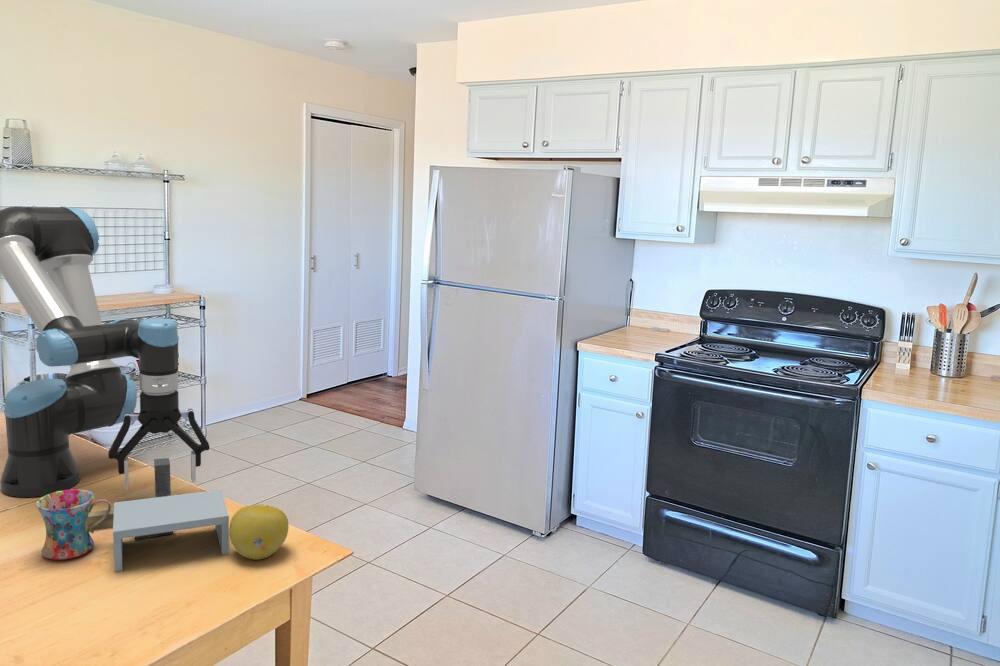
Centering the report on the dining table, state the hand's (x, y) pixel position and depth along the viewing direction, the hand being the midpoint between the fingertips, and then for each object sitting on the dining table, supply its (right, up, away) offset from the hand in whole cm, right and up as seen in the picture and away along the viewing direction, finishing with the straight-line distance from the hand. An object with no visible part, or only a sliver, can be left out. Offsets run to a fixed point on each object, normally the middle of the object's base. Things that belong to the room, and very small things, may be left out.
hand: (160, 483), depth 160 cm
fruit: (+28, -10, -20) cm, 36 cm away
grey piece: (+2, -5, -7) cm, 9 cm away
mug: (-5, -8, -23) cm, 25 cm away
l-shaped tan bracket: (-7, -6, -14) cm, 16 cm away
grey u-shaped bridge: (+11, -8, -20) cm, 24 cm away
